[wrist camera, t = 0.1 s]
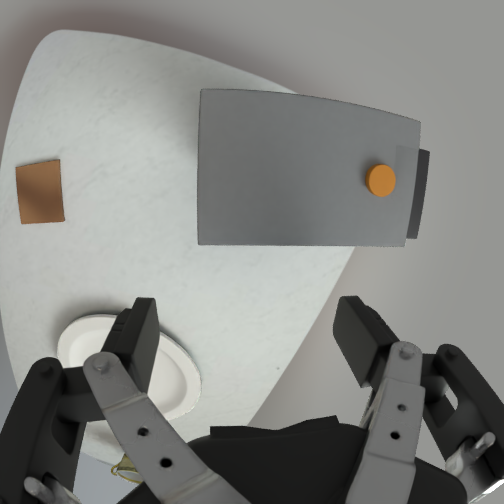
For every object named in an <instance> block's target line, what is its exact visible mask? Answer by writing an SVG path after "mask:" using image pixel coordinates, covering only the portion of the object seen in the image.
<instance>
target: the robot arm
mask: <svg viewBox="0 0 504 504" xmlns="http://www.w3.org/2000/svg"><path fill="white" fill-rule="evenodd" d="M333 335H334V338H335V340H336V342H337V344H338V346H339V347H340V349H341V351H342V353H343V355H344V356H345V359H346V360H347V362H348V364H349V366H350V368H351V370H352V372H353V374H354V376H355V378H356V380H357V381H358V383H359V385H360V387H361V388H364V387H368V386H371V387H372V388H373V389H372V391H371V394H370V396H369V399H368V402H367V405H366V408H365V411H364V414H363V416H362V419H361V422H360V424H359V427H358V426H354V425H350V424H343V423H339V421H338V419H337V416H336V415H334V416H329V417H324V418H317V419H310V420H306V421H303V422H301V423H298V424H295V425H292V426H289V427H286V428H283V429H280V430H270V429H269V430H268V429H261V428H254V427H247V426H210V435H207V436H203V437H200V438H197V439H194V440H192V441H190V442H188V443H185V442H184V440H183V439H182V438H181V437H180V436H179V435H178V433H177V432H176V431H175V430H174V429H173V427H172V426H171V425H170V424H169V423H168V421H167V420H166V419H165V418H164V416H163V415H162V414H161V412H160V411H159V410H158V408H157V407H156V406H155V405H154V403H153V402H152V400H151V399H150V398H149V396H148V395H147V394H148V389H149V384H150V379H151V375H152V370H153V366H154V362H155V357H156V353H157V349H158V345H159V340H160V328H159V321H158V315H157V308H156V301H155V299H154V298H141V297H137V298H136V300H135V303H134V305H133V307H132V309H128V308H125V309H124V310H123V311H122V312H121V313H119V314H118V315H117V317H116V319H115V321H114V324H113V325H112V327H111V331H110V332H109V334H108V336H107V338H106V340H105V342H104V344H103V346H102V349H101V351H100V352H98V353H95V354H92V355H91V356H89V357H88V358H87V359H86V360H85V362H84V364H83V366H79V367H70V368H63V366H62V364H61V362H60V361H59V360H58V359H56V358H52V357H46V358H42V359H40V360H38V361H36V362H35V363H34V364H33V365H32V367H31V368H30V370H29V372H28V374H27V376H26V378H25V380H24V382H23V384H22V386H21V388H20V390H19V392H18V394H17V396H16V398H15V401H14V403H13V405H12V407H11V410H10V412H9V414H8V416H7V419H6V421H5V423H4V426H3V428H2V431H1V433H0V504H81V502H80V500H79V499H78V498H77V497H76V496H75V495H74V494H73V487H74V481H75V475H76V469H77V464H78V459H79V454H80V449H81V444H82V440H83V436H84V431H85V427H86V423H87V422H90V421H100V420H107V422H108V424H109V426H110V428H111V429H112V431H113V433H114V435H115V437H116V438H117V440H118V442H119V443H120V445H121V447H122V448H123V450H124V452H125V453H126V455H127V456H128V458H129V459H130V461H131V462H132V464H133V465H134V467H135V468H136V470H137V471H138V473H139V474H140V476H141V477H142V479H143V480H144V481H143V482H141V483H140V484H139V485H138V486H137V487H136V488H135V489H133V490H132V491H131V492H130V493H129V494H128V495H126V496H125V497H124V498H123V499H122V500H120V501H119V502H118V503H117V504H468V503H474V502H477V501H478V500H480V499H481V498H483V497H484V496H485V495H487V494H489V493H490V492H491V491H493V490H494V489H495V488H497V487H498V486H499V485H501V484H502V483H503V482H504V404H503V403H502V402H501V400H500V399H499V397H498V396H497V395H496V393H495V392H494V391H493V389H492V388H491V387H490V386H489V384H488V383H487V382H486V380H485V379H484V378H483V376H482V375H481V374H480V372H479V371H478V370H477V369H476V368H475V366H474V365H473V364H472V362H471V361H470V360H469V359H468V358H467V357H466V355H465V354H464V353H463V352H462V351H461V350H460V349H459V348H458V347H456V346H454V345H451V344H443V345H441V346H439V348H438V350H437V352H436V354H422V352H421V350H420V349H419V348H418V347H417V346H416V345H414V344H412V343H409V342H405V341H400V340H399V339H398V338H397V336H396V335H395V334H394V333H393V331H392V330H391V329H390V328H389V326H388V325H386V323H385V321H384V320H383V319H382V318H381V317H380V315H379V314H378V313H377V312H376V311H375V310H373V309H372V308H371V307H369V306H366V305H365V304H364V303H363V302H362V300H361V299H360V298H359V297H358V296H342V297H340V299H339V303H338V307H337V311H336V316H335V320H334V324H333ZM449 387H450V388H451V390H452V391H453V393H454V394H455V395H456V397H457V399H458V406H457V409H456V410H454V408H453V406H452V405H451V403H450V402H449V400H448V398H447V397H446V395H445V393H446V391H447V389H448V388H449ZM422 417H423V419H424V421H425V422H426V424H427V426H428V428H429V430H430V432H431V434H432V436H433V438H434V440H435V442H436V444H437V446H438V448H439V450H440V452H441V454H442V456H443V458H444V460H445V462H446V464H445V471H444V470H442V469H440V468H438V467H435V466H433V465H431V464H429V463H427V462H425V461H423V460H421V459H419V458H417V457H415V454H416V449H417V444H418V439H419V433H420V427H421V421H422Z"/></svg>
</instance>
